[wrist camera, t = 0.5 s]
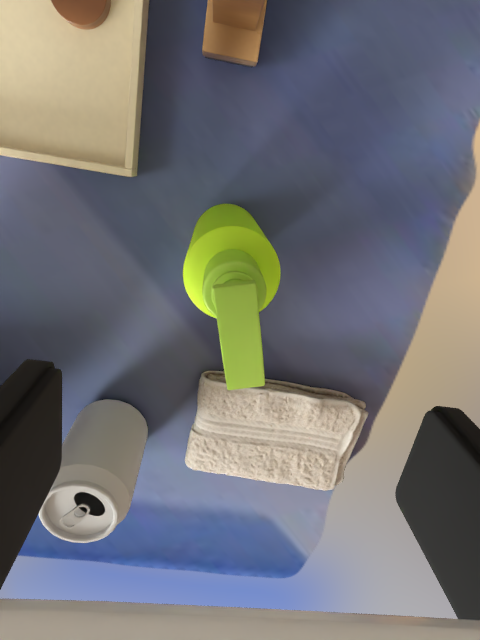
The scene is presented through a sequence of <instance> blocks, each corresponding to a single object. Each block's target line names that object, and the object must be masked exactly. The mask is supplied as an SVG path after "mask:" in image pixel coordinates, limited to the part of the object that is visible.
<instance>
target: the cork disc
mask: <svg viewBox="0 0 480 640" xmlns="http://www.w3.org/2000/svg"><path fill="white" fill-rule="evenodd" d="M51 2H52V4H53V6H54V7H55V9H56V10H57V12H58V13H59V14H60V15H61V16H62V17H63V18H64V19H65V20H66V21H67V22H68V23H70V24H71V25H73V26H74V27H76V28H79V29H84V30H90V29H94V28H97V27H98V26H100V25H101V24H102V23H103V22H104V21H105V20H106V18H107V16H108V14H109V11H110V7H111V0H51Z"/></svg>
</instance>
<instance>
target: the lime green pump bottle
mask: <svg viewBox="0 0 480 640" xmlns="http://www.w3.org/2000/svg"><path fill="white" fill-rule="evenodd" d="M183 280H184V285H185V288H186V291H187V293H188V295H189V297H190V299H191V300H192V302H193V303H194V304H195V305H196V306H197V307H198V308H199V309H200V310H201V311H203V312H204V313H206V314H208V315H209V316H212V317H214V318H217V323H218V330H219V337H220V345H221V352H222V359H223V365H224V372H225V378H226V385H227V390H235V389H244V388H252V387H259V386H264V385H265V375H264V362H263V350H262V339H261V329H260V319H259V312H260V311H262V310H263V309H264V308H265V307H266V306H267V305H268V304H269V303H270V302H271V300H272V299H273V297H274V296H275V294H276V292H277V289H278V286H279V282H280V263H279V259H278V256H277V254H276V252H275V250H274V248H273V247H272V245H271V244H270V242H269V241H268V239H267V238H266V236H265V235H264V233H263V232H262V230H261V229H260V227H259V226H258V224H257V223H256V221H255V220H254V218H253V217H252V216H251V214H250V213H249V212H247V211H246V210H245V209H243V208H241V207H239V206H237V205H233V204H220V205H216V206H213V207H211V208H210V209H208V210H207V211H205V212H204V213H203V214H202V215H201V217H200V218H199V220H198V221H197V223H196V226H195V229H194V232H193V236H192V239H191V242H190V245H189V249H188V252H187V255H186V258H185V262H184V267H183Z"/></svg>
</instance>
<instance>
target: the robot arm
mask: <svg viewBox="0 0 480 640" xmlns="http://www.w3.org/2000/svg"><path fill="white" fill-rule="evenodd" d="M61 461H62V371H61V369H56V368H55V366H54V363H53V362H48V361H39V360H30V359H27V360H25V361H24V362H23V363H22V364H21V365H20V366H19V368H18V369H17V370H16V371H15V372H14V373H13V374H12V375H11V376H10V377H9V378H8V379H7V380H6V381H5V382H4V383H3V384H2V386H1V387H0V589H1V587H2V585H3V583H4V581H5V579H6V577H7V575H8V573H9V571H10V569H11V567H12V565H13V563H14V561H15V559H16V557H17V555H18V553H19V551H20V549H21V547H22V545H23V543H24V541H25V539H26V537H27V535H28V533H29V531H30V529H31V527H32V525H33V523H34V521H35V519H36V517H37V515H38V513H39V511H40V509H41V507H42V505H43V503H44V501H45V499H46V497H47V495H48V493H49V491H50V489H51V487H52V485H53V483H54V481H55V479H56V477H57V475H58V473H59V470H60V466H61ZM396 500H397V503H398V505H399V507H400V509H401V511H402V513H403V515H404V517H405V519H406V521H407V522H408V524H409V526H410V528H411V530H412V532H413V534H414V536H415V538H416V540H417V541H418V543H419V545H420V547H421V549H422V551H423V553H424V555H425V556H426V559H427V560H428V562H429V564H430V566H431V568H432V570H433V572H434V574H435V575H436V577H437V579H438V581H439V583H440V585H441V587H442V589H443V591H444V593H445V595H446V596H447V598H448V600H449V602H450V604H451V606H452V608H453V610H454V612H455V613H456V615H457V617H458V619H447V618H430V617H413V616H395V615H375V614H357V613H356V614H355V613H338V612H319V611H300V610H279V609H260V608H240V607H218V606H196V605H174V604H152V603H131V602H109V601H76V600H40V599H38V600H37V599H0V640H480V429H479V428H478V427H477V426H476V425H475V424H474V423H473V422H472V421H471V420H470V419H469V418H468V417H467V416H466V415H465V414H464V412H462V411H461V410H460V409H457V408H450V407H441V406H436V407H434V408H433V409H432V410H431V411H428V412H427V413H426V414H425V416H424V418H423V421H422V424H421V426H420V429H419V431H418V434H417V436H416V439H415V441H414V444H413V447H412V449H411V452H410V454H409V457H408V460H407V462H406V465H405V467H404V470H403V472H402V475H401V477H400V480H399V482H398V485H397V488H396Z"/></svg>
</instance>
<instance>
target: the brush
mask: <svg viewBox="0 0 480 640" xmlns="http://www.w3.org/2000/svg"><path fill="white" fill-rule="evenodd" d="M266 4H267V0H208V3H207V12H206V21H205V30H204V38H203V47H202V53H203V56H205V58H209V59H214V60H218V61H223V62H228V63H233V64H238V65H243V66H248V67H253V66H256V64H257V62H258V56H259V49H260V43H261V36H262V30H263V24H264V17H265V11H266Z"/></svg>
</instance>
